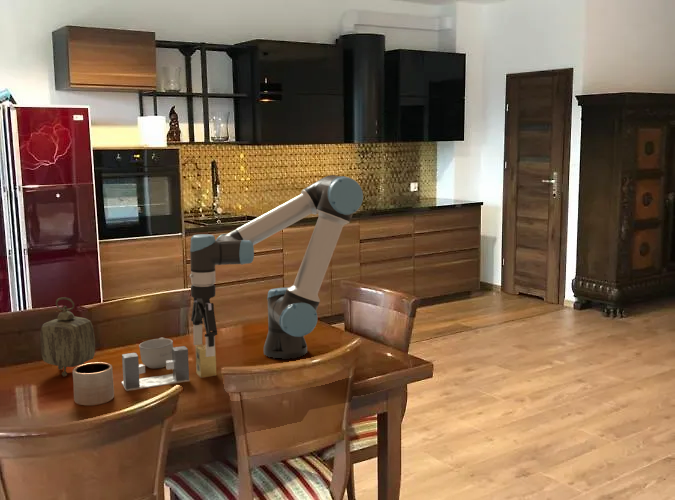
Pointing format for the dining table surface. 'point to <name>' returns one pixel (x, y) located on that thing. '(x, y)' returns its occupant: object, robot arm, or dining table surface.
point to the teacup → (156, 352)
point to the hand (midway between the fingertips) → (204, 350)
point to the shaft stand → (134, 369)
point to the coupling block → (205, 362)
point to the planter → (93, 383)
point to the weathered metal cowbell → (67, 340)
